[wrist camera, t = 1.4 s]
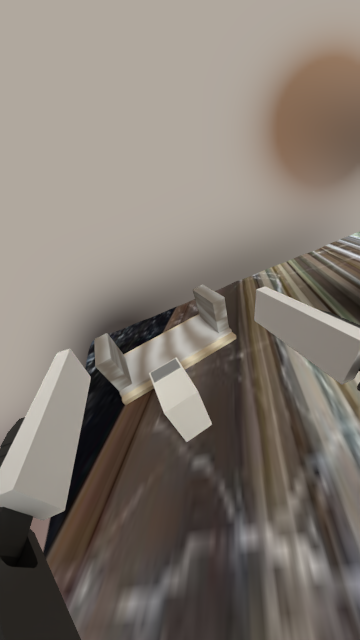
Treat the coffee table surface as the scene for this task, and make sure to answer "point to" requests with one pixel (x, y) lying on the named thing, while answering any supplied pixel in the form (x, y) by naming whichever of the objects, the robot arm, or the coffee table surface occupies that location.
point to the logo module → (180, 399)
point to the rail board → (166, 347)
